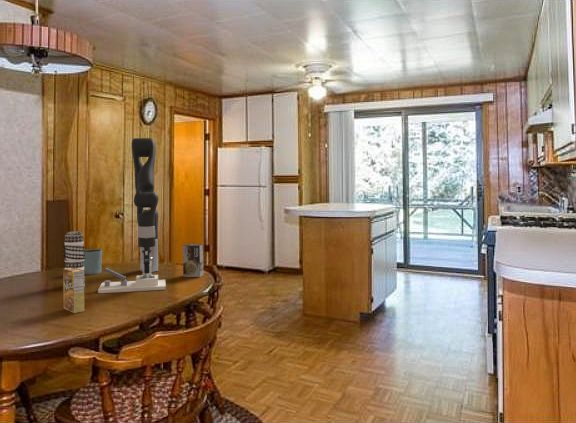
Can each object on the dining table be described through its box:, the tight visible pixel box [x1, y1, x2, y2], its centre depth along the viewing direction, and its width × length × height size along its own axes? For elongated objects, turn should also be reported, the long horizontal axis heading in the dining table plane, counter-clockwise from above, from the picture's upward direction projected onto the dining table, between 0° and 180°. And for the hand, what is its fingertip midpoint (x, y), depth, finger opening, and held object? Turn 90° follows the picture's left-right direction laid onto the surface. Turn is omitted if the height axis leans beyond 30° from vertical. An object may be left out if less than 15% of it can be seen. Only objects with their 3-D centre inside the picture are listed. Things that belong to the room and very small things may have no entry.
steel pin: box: [141, 257, 153, 279], centre depth 209 cm, size 5×5×12 cm
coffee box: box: [182, 243, 204, 278], centre depth 235 cm, size 9×6×16 cm
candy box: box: [62, 268, 85, 314], centre depth 170 cm, size 9×4×15 cm, turn 50°
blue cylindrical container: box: [83, 248, 103, 275], centre depth 242 cm, size 10×10×12 cm
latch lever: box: [104, 267, 127, 281], centre depth 205 cm, size 4×10×1 cm, turn 105°
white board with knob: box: [97, 274, 167, 294], centre depth 208 cm, size 15×28×4 cm, turn 105°
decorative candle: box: [62, 230, 86, 287], centre depth 210 cm, size 9×9×25 cm
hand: (147, 271), depth 209 cm, fingers open, 8 cm apart
